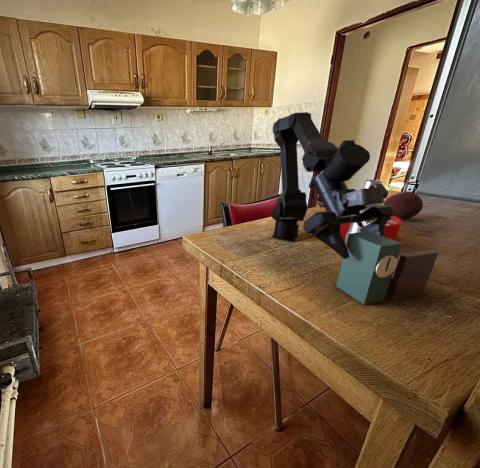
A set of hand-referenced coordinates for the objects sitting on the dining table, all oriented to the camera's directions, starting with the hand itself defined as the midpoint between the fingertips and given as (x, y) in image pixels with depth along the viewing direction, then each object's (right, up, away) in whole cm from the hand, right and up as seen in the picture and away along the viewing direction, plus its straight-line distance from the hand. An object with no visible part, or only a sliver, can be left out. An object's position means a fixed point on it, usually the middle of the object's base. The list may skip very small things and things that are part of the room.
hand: (365, 255), depth 54 cm
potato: (+49, +10, +46) cm, 68 cm away
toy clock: (+24, +5, +35) cm, 43 cm away
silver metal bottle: (+15, 0, +24) cm, 28 cm away
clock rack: (+8, -7, +6) cm, 12 cm away
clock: (0, -8, +2) cm, 9 cm away
